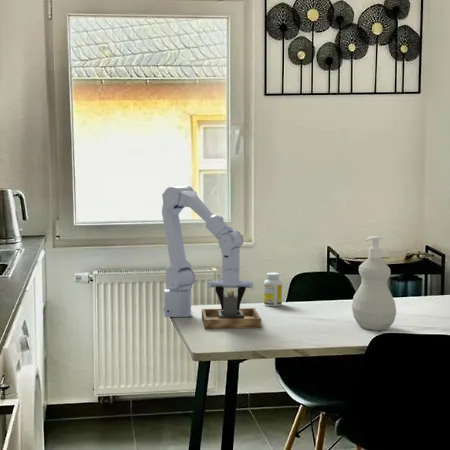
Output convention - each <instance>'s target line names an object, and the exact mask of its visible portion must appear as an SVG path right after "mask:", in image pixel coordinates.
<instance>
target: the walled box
mask: <svg viewBox="0 0 450 450" xmlns="http://www.w3.org/2000/svg"><path fill="white" fill-rule="evenodd" d="M217 310H221V308H202V309H201V320H202V324H203V328H204V330H217V329H218V330H221V329H222V330H224V329H225V330H227V329H230V330H232V329H261V328H262V318H261V316H260V315H259V313H258V311H257V310H256V308H255V307H252V308H251V307H247V308H246V307H245V308H241V307H240V310H242V312H243V314H244V319H218V318H217Z"/></svg>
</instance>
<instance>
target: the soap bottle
mask: <svg viewBox="0 0 450 450" xmlns="http://www.w3.org/2000/svg"><path fill="white" fill-rule="evenodd" d="M381 239H382V237H381V236H379V235H371V236H369V237H366V238H365V241H371V246H370V247H369V246H368V258H367V259H366V260H365V261H363V262H362V263H361V264H360V265H358V273H359V275H360V279H361V283H360V285H359V288H358V289H356V292H355V293H354V295H353V298H352V303H351V309H352V315H353V318H354V319H355V322H356V323H357V325H358V326H360V328H361V327H362V328H363V329H366V330H371V331H384V330H388V329H390V328H391V326H392V325H393V324H394V323H395V320H396V315H397V308H396V307H397V306H396V301H395V299H394V297H393V294H392V293H391V290H390V289H389V286H388V280H389V279H390V277H391V273H392V272H391V268H390V267H389V266H388V264H387V263H386V262H385V261H384V260H383V259H382V247H380V245H379V244H380V240H381Z"/></svg>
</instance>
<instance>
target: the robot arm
mask: <svg viewBox="0 0 450 450" xmlns="http://www.w3.org/2000/svg"><path fill="white" fill-rule="evenodd" d="M161 197H162V206H161V214H162V221H163V222H162V223H163V226H164V233H165V239H166V245H167V246H166V247H167V252H168V259H169V263H168V264H167V267H166V268H165V279H164V280H165V284H166V286H167V288H168V289H167V288H166V289H164V290H163V291H164V292H163V293H164V294H163V297H164V299H163V300H164V301H163V303H164V304H163V307H162V309H163V313H164V314H163V315H164V317H165V318H185V317H193V311H192V288H193V285H194V283H195V281H196V274H195V272H194V270H193V268H192V264H191V262H189V261H188V260H187V258H186V251H185V245H184V240H183V233H182V226H181V221H180V214H181V212H182V211H183V210H184V209H185V208H190V209H191V210H193V212H194V213H195V214H196V215H197V216H199V217H200V218H201V219H202V220H203V221H204V222H205V228H206V229H207V230H208V231H209V232H210V233H211V234H212V235H213V236H214V237H215V238H216V240H218V241H217V243H218V246H219V248H220V249H221V251H220V252H221V280H209V281H208V286H207V287H208V288H209V289H212V288H215V293H216V295H217V297H218V300H219V303H220V309H221V310H223V297H224V294H225V293H224V292H225V288H226V289H227V288H230V289H232V288H234V289H236V288H237V295H238V304H237V310H240V308H241V303H242V299H243V297H244V294H245V292H246V290H247V289H254V282H253V281H247V280H240V276H241V275H240V271H241V270H240V268H241V267H240V260H241V258H240V257H241V253H240V252H241V250H240V248H241V247H242V246H243V243H244V237H243V235H242V233H241V232H240V231H239V230H234V229H233V227H232V226H230V225H229V224H228V223H227V222H226V221H225V220H224V217H223V216H222V215H221V216H220V215H219V214H215V215H214V213H212V212H211V210H210V209H209V208H208V207H207V205H206V204H205V203H204V202H203V201H202V200H201V199H200V198H199V195H198V193H197V191H196V190H194V189H193V187H191V185H184V186H183V185H181V186H168V187H167V188H166V189H165V190H164V191H163V193H162V195H161Z"/></svg>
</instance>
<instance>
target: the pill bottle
mask: <svg viewBox="0 0 450 450" xmlns="http://www.w3.org/2000/svg"><path fill="white" fill-rule="evenodd" d="M265 277H266V279H265V280H264V281H263V304H264V305H265V306H267V307H279V306H281V305H282V302H283V298H282V297H283V296H282V295H283V294H282V293H283V292H282V291H283V290H282V289H283V282H282V280H281V279H279V278H280V273H279V272H275V271H274V272H267V273H266V276H265Z"/></svg>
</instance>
